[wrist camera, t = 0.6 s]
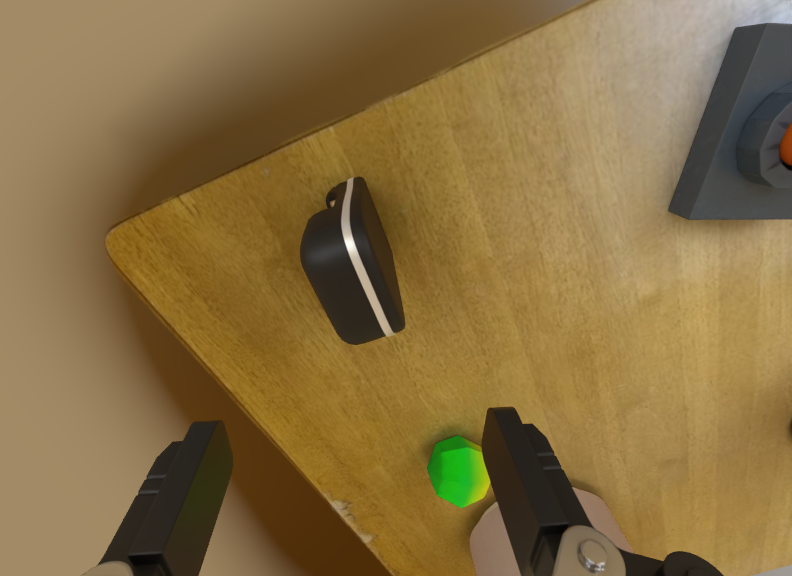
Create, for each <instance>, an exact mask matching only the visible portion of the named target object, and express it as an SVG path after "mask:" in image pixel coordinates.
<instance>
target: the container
mask: <svg viewBox="0 0 792 576" xmlns="http://www.w3.org/2000/svg"><path fill="white" fill-rule="evenodd" d="M572 488H573V490H574V492H575V494H576V496H577V497H578V499H579V501H580V503H581V505H582V507H583V509H584V511H585V513H586V515H587V517H588V519H589V520H590V522H591V524H592V525H593V526H594V528H595V529H596V530H598V531H599V532H601V533H603V534H604V535H605V536H607V537H608V538H609V539H610V540H611V541H612V542H613V543H614V545H615V546H616V547H618V548H620V549H622V550H624V551H627V552H630V553H634V551H633V550H632V548H631V546H630V544H629V543H628V541H627V539H626V537H625V536H624V534H623V532H622V531H621V529H620V527H619V525H618V524H617V522H616V520H615V519H614V517H613V515H612V513H611V512H610V510H609V508H608V507H607V505H606V503H605V502H604V501H603V500H602V499H601V498H599V497H598V496H596V495H594V494H592V493H590V492H587V491H583V490H579V489H577V488H574V487H572ZM469 545H470V550H471V554H472V559H473V563H474V567H475V571H476V575H477V576H521V574H520V571H519V568H518V565H517V562H516V559H515V556H514V552H513V549H512V546H511V543H510V540H509V537H508V534H507V531H506V528H505V525H504V522H503V519H502V516H501V512H500V509H499V506H498V503H497V502H495V503H494V504H493V505H491V506H490V507H489V508H488V509H487V510H486V511H485V513H484V514H483V515H482V517H481V519H480V521H479V522H478V523H477V525H476V526H475V527H474V529H473V531H472V533H471V536H470V543H469ZM634 554H635V553H634Z"/></svg>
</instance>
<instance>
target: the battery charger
mask: <svg viewBox="0 0 792 576" xmlns="http://www.w3.org/2000/svg"><path fill="white" fill-rule="evenodd" d="M326 204H327V208H328V209H325V210H322V211H320V212H318V213H316V214H314V215H313V216H312V217H311V218H310V219H309V220H308V223H307V226H306V228H305V231H304V233H303V237H302V241H301V246H300V258H301V264H302V267H303V269H304V271H305V273H306V275H307V277H308V279H309V281H310V283H311V285H312V287H313V289H314V291H315V293H316V295H317V297H318V299H319V301H320V303H321V305H322V306H323V308H324V310H325V312H326V314H327V316H328V318H329V320H330V321H331V323H332V325H333V327H334V329H335V331H336V332H337V334H338V335H339V337H340V338H341V339H342V340H343V341H344V342H346V343H348V344H353V345H359V344H363V343H367V342H370V341H373V340H376V339H379V338H382V337H385V336H387V337H390V336H393V335H395V334H396V333H397V332H400V331H402V330H403V329H404V328H405V317H404V312H403V306H402V301H401V295H400V290H399V285H398V280H397V276H396V271H395V265H394V260H393V254H392V251H391V248H390V245H389V243H388V240H387V237H386V235H385V232H384V230H383V227H382V224H381V222H380V219H379V216H378V214H377V211H376V209H375V206H374V203H373V201H372V198H371V196H370V193H369V190H368V188H367V185H366V183H365V180H364V179H363V178H362V177H356V178H350V179H348V180H347V181H346V182H343V183H340V184H339V185H337V186H336V187H334V188H333V189H332V190H331V191H330V192H329V193H328V194H327V197H326Z"/></svg>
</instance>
